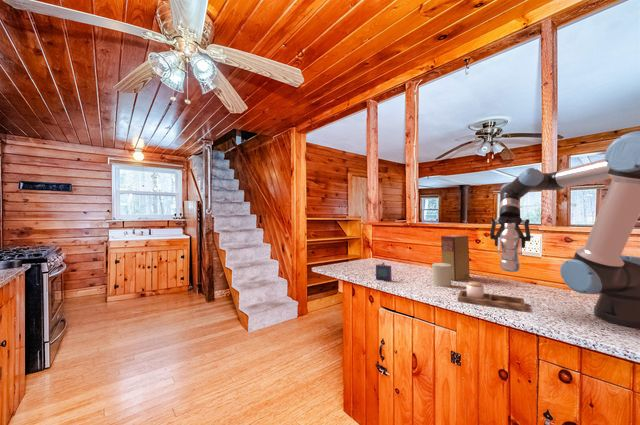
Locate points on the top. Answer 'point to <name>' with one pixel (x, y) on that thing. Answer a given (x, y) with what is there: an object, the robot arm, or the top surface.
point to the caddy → (495, 301)
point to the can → (441, 274)
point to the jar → (475, 290)
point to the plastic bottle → (509, 248)
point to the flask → (383, 272)
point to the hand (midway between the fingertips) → (509, 252)
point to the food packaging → (456, 255)
